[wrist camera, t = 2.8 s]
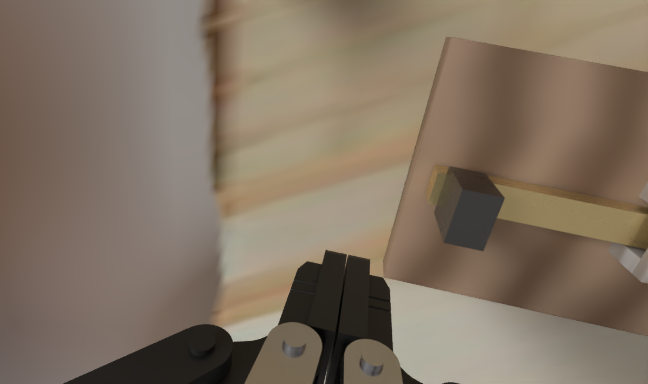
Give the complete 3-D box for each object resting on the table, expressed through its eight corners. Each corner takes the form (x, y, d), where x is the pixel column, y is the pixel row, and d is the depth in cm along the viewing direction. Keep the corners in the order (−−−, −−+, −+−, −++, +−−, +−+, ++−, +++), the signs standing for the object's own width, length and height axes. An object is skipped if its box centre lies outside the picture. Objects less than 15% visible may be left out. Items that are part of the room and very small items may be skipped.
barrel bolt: (422, 200, 23) (433, 240, 18) (436, 156, 22) (451, 187, 17) (684, 255, 22) (765, 311, 17) (714, 212, 21) (809, 260, 16)
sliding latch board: (383, 261, 28) (384, 307, 23) (445, 37, 21) (465, 36, 16) (739, 340, 26) (818, 406, 21) (923, 123, 20) (1097, 149, 15)
